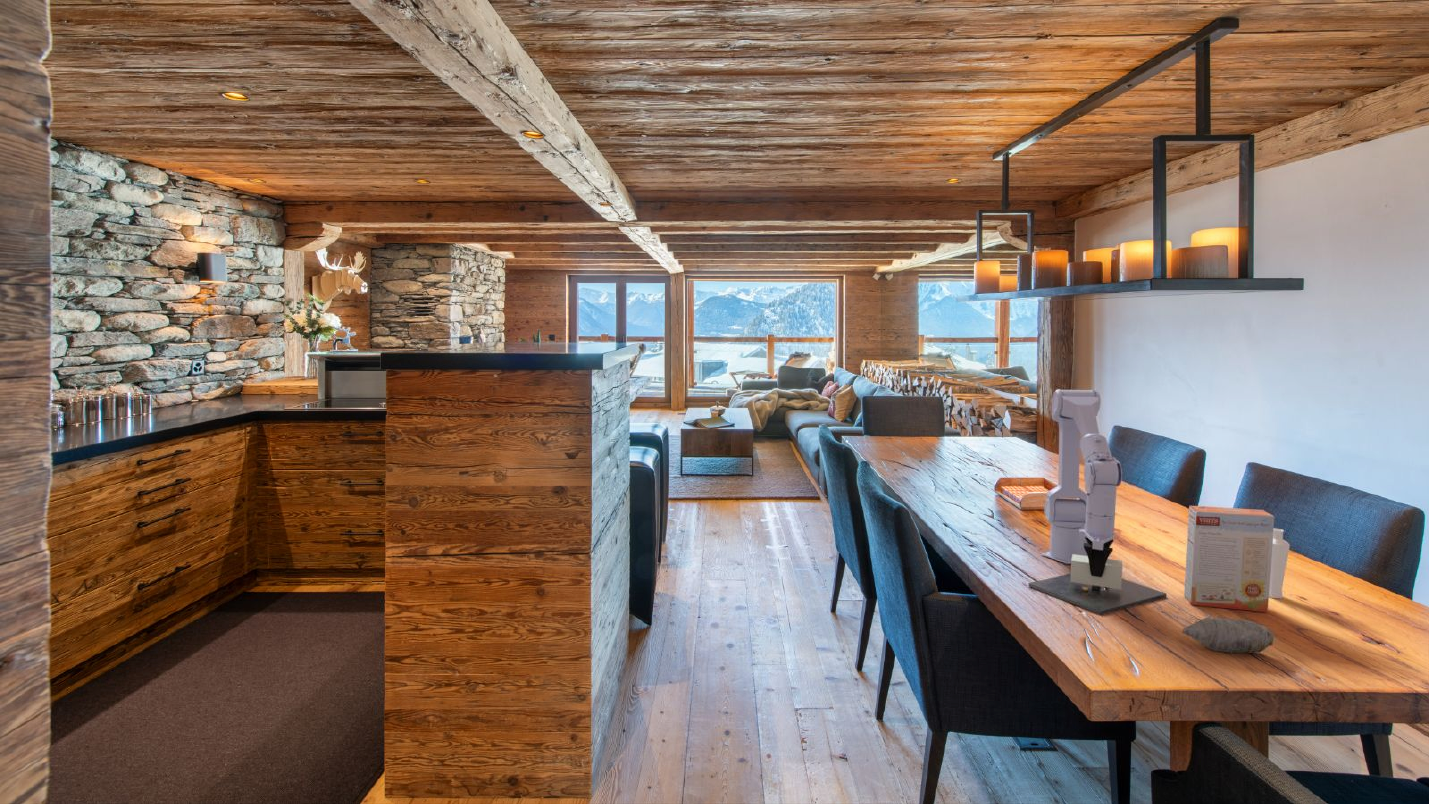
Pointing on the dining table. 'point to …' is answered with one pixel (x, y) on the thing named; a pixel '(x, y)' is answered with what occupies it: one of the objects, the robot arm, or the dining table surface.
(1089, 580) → the block with square hole
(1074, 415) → the robot arm
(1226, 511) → the cracker box
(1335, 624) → the dining table surface
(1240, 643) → the seashell
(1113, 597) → the stand
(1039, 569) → the dining table surface
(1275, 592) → the white plastic bottle
